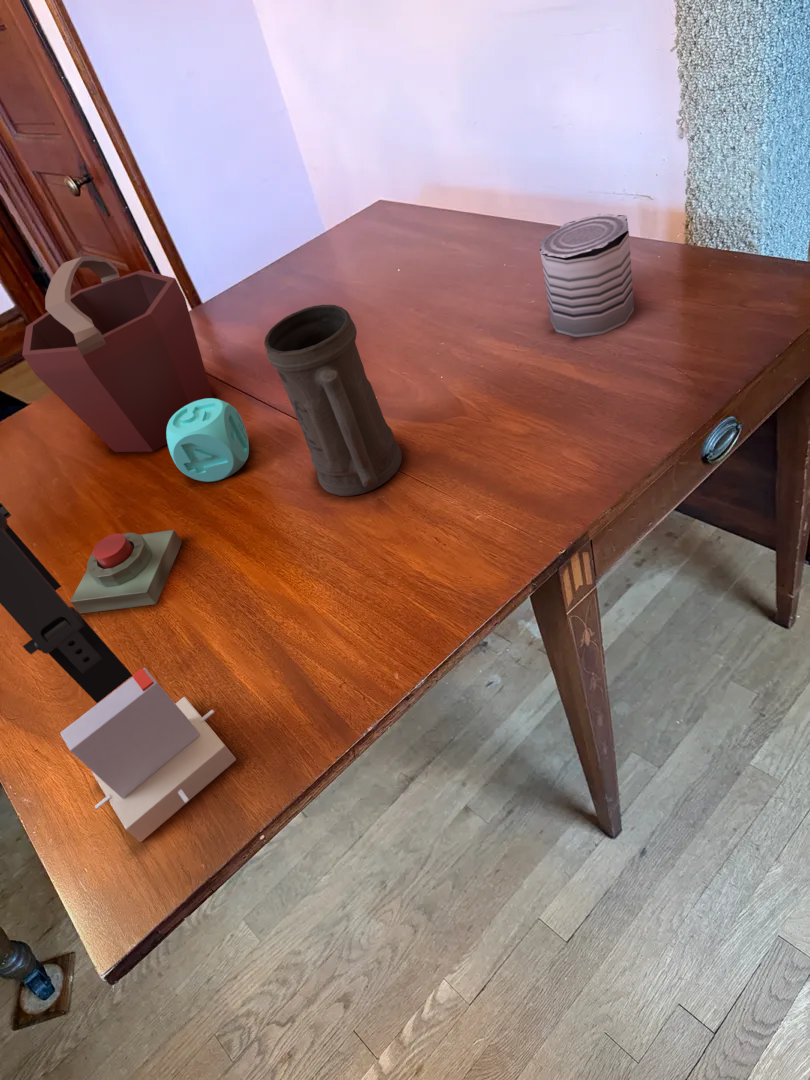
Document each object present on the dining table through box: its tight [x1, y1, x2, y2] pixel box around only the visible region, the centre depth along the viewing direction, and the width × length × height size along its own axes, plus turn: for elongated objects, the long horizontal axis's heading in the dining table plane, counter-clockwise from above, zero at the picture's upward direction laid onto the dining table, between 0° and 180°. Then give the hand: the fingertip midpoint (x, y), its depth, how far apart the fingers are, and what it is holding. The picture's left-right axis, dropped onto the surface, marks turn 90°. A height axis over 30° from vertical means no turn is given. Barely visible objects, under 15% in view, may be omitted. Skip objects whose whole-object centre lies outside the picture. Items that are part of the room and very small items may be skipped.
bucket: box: [21, 255, 214, 453], centre depth 107 cm, size 24×22×25 cm
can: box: [539, 213, 635, 338], centre depth 99 cm, size 11×11×12 cm
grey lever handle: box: [59, 667, 200, 799], centre depth 62 cm, size 8×2×8 cm, turn 130°
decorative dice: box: [166, 397, 250, 483], centre depth 99 cm, size 8×8×8 cm
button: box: [92, 532, 133, 569], centre depth 86 cm, size 4×4×2 cm
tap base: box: [91, 696, 237, 843], centre depth 66 cm, size 12×12×3 cm
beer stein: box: [263, 304, 403, 497], centre depth 84 cm, size 15×11×20 cm
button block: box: [69, 529, 183, 615], centre depth 87 cm, size 10×10×4 cm
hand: (76, 637), depth 53 cm, fingers open, 13 cm apart
